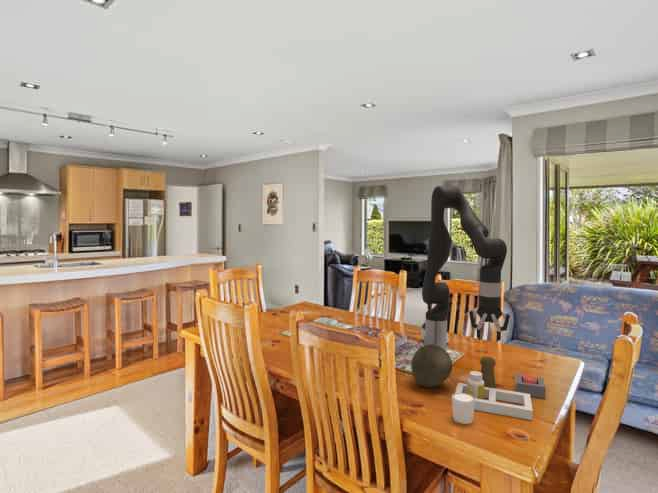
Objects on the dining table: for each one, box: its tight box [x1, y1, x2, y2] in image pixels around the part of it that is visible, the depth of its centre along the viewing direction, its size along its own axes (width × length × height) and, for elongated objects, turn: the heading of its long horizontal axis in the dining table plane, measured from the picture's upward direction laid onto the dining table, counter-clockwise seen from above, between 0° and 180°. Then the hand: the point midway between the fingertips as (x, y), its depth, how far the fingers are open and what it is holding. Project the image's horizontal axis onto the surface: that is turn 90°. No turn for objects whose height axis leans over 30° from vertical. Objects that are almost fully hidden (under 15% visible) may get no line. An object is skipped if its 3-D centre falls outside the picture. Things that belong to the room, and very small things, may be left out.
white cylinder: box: [451, 393, 475, 425], centre depth 122 cm, size 7×7×7 cm
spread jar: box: [420, 318, 450, 344], centre depth 196 cm, size 12×11×12 cm
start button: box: [523, 375, 537, 384], centre depth 141 cm, size 4×4×3 cm
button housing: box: [514, 373, 547, 400], centre depth 142 cm, size 9×9×4 cm
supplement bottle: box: [466, 370, 485, 400], centre depth 134 cm, size 5×5×10 cm
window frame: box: [454, 382, 534, 421], centre depth 132 cm, size 23×12×3 cm, turn 67°
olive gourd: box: [479, 355, 497, 389], centre depth 145 cm, size 6×6×11 cm
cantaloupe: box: [410, 344, 453, 388], centre depth 146 cm, size 14×14×15 cm
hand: (488, 340), depth 144 cm, fingers open, 5 cm apart
